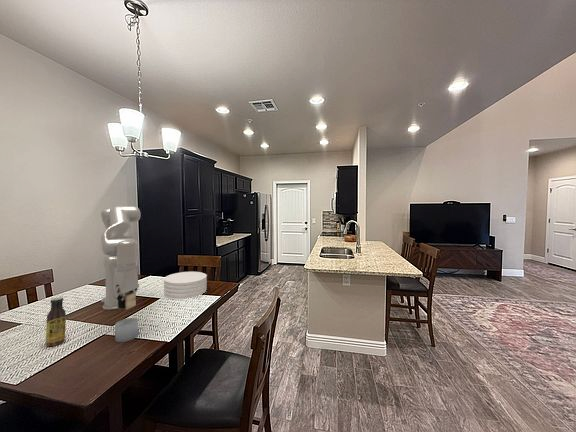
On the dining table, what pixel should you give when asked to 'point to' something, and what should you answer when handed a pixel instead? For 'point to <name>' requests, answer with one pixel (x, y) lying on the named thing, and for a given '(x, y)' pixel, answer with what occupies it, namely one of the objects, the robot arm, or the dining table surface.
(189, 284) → the plate stack
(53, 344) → the sauce bottle
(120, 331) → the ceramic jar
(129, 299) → the maple block
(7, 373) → the dining table surface
